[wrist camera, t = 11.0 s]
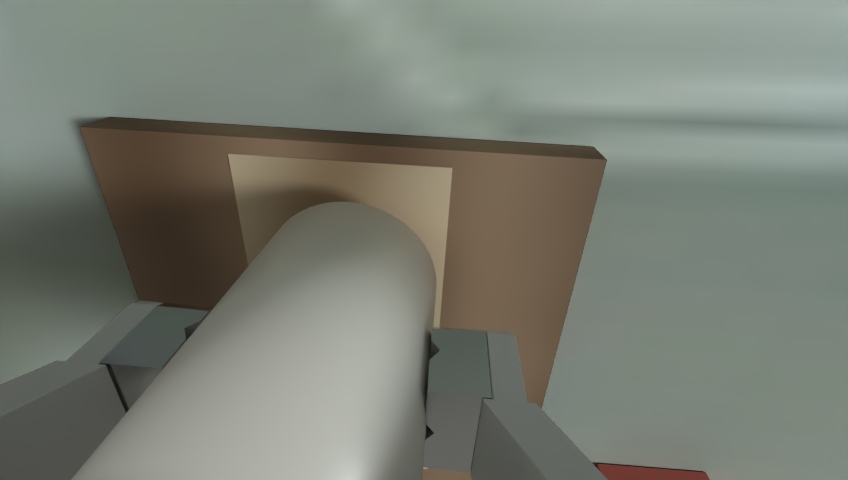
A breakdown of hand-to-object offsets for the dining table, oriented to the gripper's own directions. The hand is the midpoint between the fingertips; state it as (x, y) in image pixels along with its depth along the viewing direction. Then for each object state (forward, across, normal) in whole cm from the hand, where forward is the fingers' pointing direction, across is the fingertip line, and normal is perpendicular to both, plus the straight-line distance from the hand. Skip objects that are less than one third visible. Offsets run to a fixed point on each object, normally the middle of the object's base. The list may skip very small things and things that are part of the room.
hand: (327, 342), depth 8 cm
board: (+4, 0, +12) cm, 13 cm away
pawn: (+2, 0, 0) cm, 2 cm away
